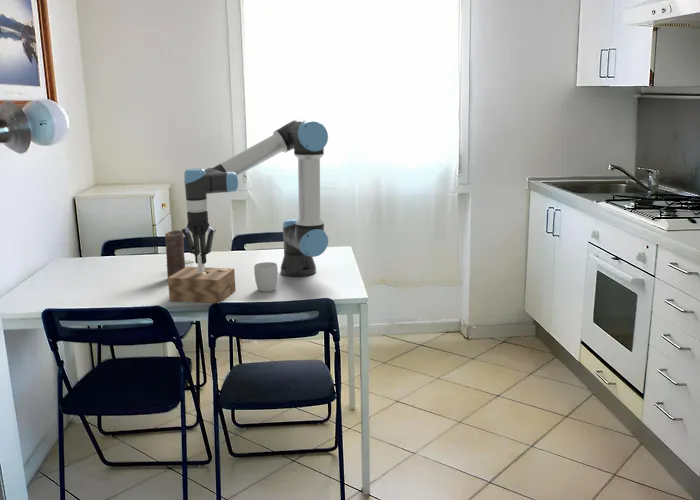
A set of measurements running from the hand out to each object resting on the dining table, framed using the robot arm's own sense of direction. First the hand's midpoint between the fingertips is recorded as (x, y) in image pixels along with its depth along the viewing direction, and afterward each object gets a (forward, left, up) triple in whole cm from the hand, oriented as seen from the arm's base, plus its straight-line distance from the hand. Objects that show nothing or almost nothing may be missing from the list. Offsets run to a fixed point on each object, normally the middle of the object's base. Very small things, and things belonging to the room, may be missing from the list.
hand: (201, 271), depth 256 cm
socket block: (0, 0, -10) cm, 10 cm away
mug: (-21, -13, -10) cm, 27 cm away
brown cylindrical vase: (+21, -21, -10) cm, 31 cm away
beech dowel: (0, 0, -10) cm, 10 cm away
